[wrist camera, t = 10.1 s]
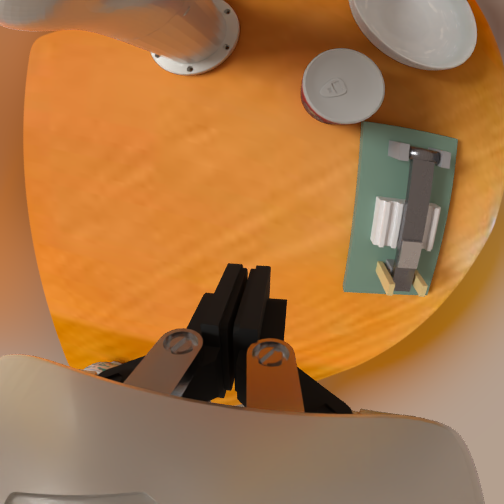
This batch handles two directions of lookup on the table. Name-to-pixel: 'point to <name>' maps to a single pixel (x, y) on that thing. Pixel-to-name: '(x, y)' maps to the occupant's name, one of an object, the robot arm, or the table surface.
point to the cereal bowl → (419, 30)
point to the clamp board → (392, 186)
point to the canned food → (342, 87)
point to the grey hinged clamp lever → (414, 216)
